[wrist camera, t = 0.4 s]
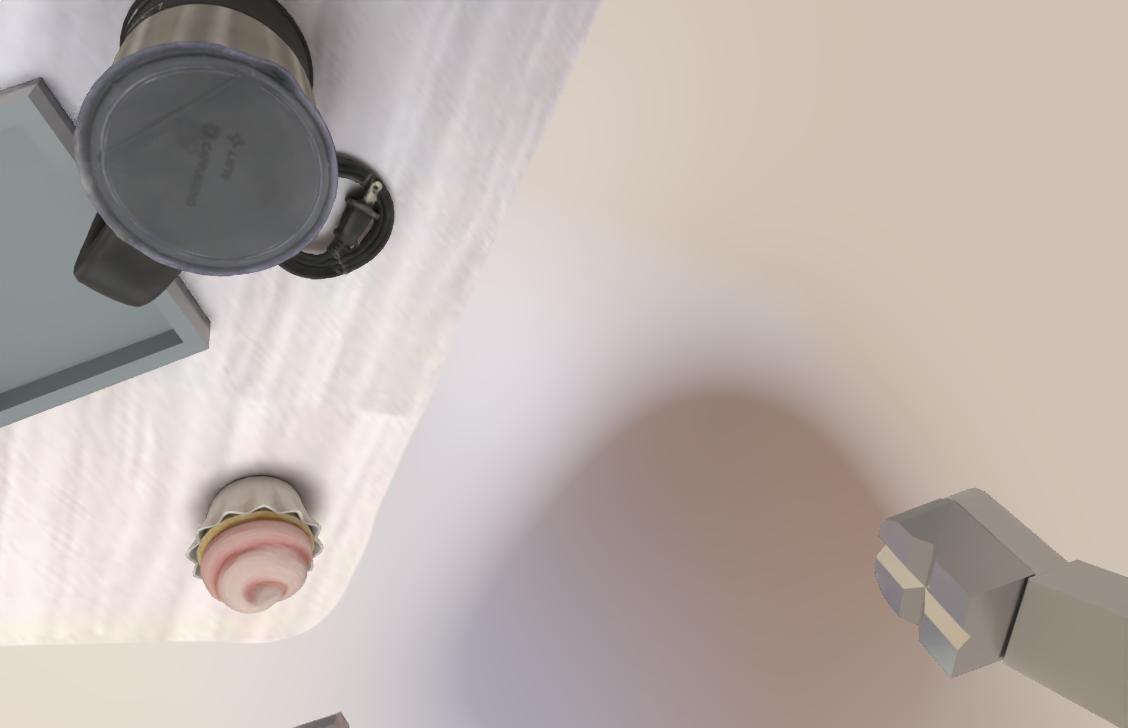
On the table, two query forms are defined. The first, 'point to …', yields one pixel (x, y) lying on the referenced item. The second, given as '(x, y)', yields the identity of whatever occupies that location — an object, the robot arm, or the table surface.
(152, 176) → the milk frother
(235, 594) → the cupcake
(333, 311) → the table surface
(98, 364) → the tray
